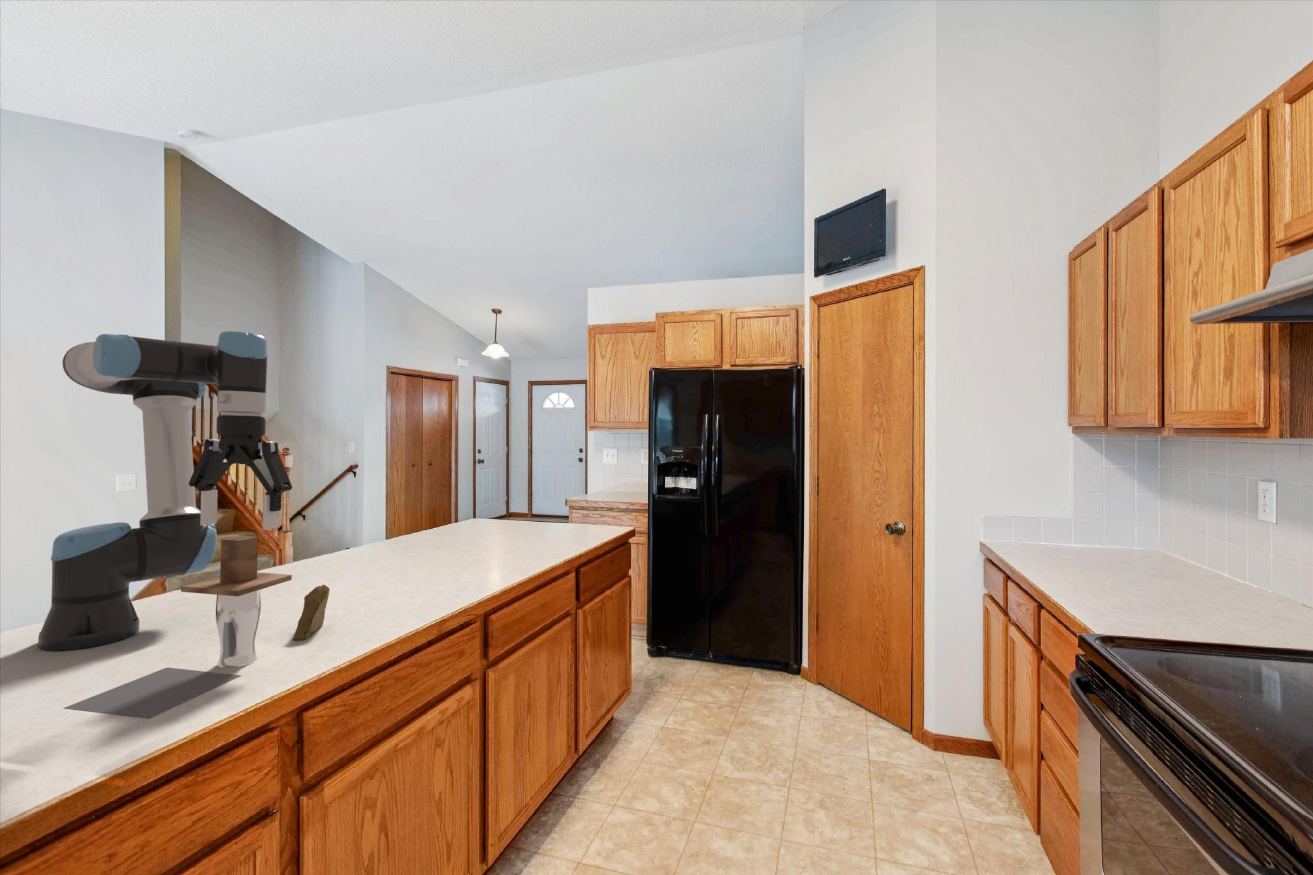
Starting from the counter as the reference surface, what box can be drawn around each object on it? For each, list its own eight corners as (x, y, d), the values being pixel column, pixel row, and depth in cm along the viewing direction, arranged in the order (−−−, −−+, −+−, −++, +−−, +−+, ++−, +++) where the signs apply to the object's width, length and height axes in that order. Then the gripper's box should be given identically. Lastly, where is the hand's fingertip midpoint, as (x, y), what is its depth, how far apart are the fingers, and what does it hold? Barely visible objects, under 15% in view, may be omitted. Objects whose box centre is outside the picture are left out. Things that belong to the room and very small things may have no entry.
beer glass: (253, 654, 114) (254, 578, 114) (265, 663, 109) (266, 585, 109) (209, 664, 108) (211, 585, 108) (220, 675, 104) (222, 592, 104)
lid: (180, 591, 104) (181, 542, 104) (239, 575, 116) (240, 531, 116) (237, 596, 102) (238, 545, 102) (291, 579, 114) (292, 534, 114)
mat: (63, 711, 90) (63, 707, 90) (166, 670, 106) (166, 667, 106) (148, 721, 87) (148, 718, 87) (241, 678, 103) (241, 675, 103)
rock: (310, 632, 120) (347, 612, 130) (287, 599, 120) (326, 581, 130) (281, 657, 123) (319, 635, 133) (258, 624, 124) (298, 605, 133)
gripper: (166, 412, 107) (164, 525, 107) (283, 415, 103) (280, 533, 103) (204, 413, 115) (202, 519, 115) (314, 417, 110) (312, 527, 111)
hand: (239, 526), depth 109 cm, fingers open, 13 cm apart
